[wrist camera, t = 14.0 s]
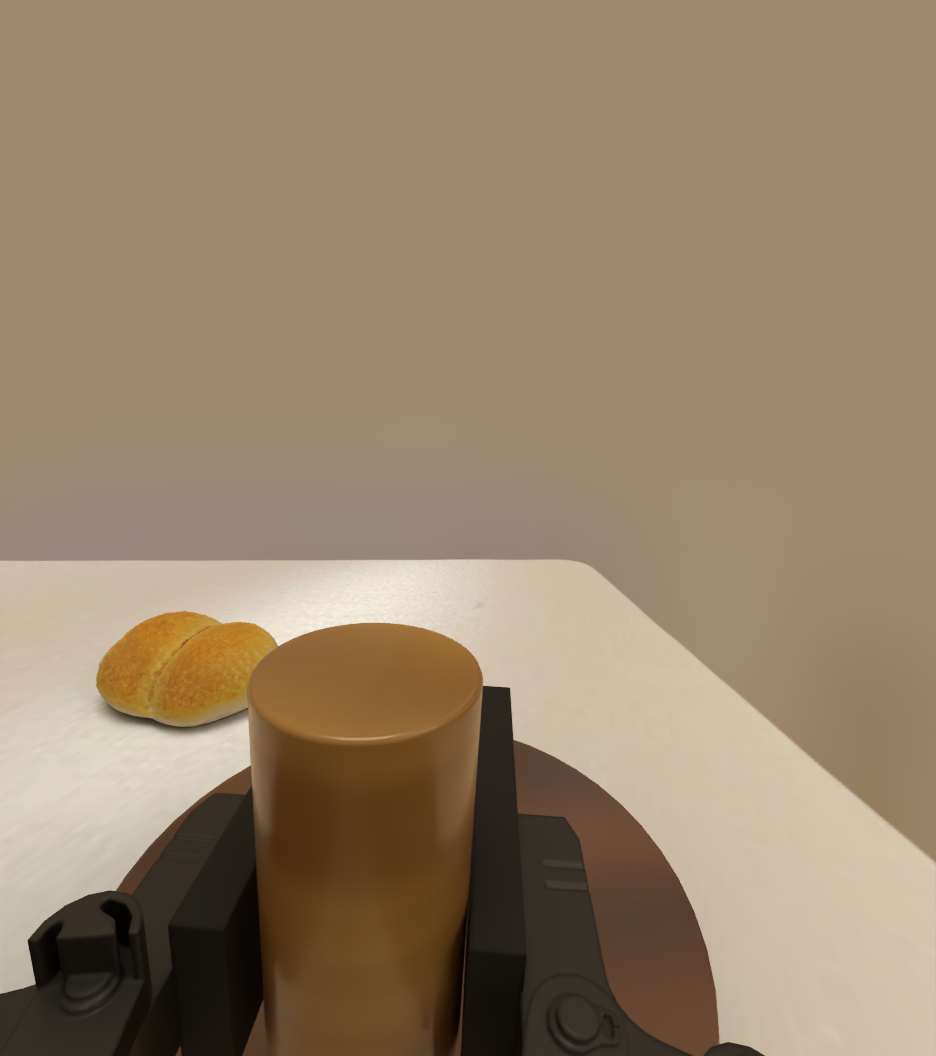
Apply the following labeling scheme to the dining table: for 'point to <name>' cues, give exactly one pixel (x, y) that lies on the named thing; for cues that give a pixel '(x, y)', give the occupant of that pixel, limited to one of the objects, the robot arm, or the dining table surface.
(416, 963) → the turntable
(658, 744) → the dining table surface
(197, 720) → the bread roll
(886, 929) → the dining table surface
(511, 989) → the robot arm
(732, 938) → the dining table surface
